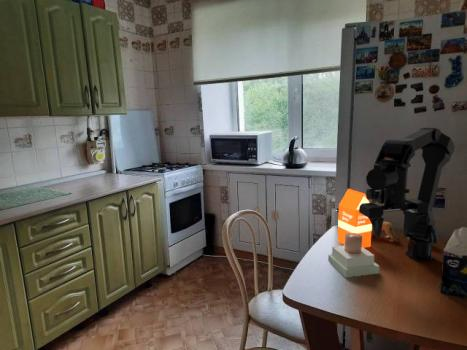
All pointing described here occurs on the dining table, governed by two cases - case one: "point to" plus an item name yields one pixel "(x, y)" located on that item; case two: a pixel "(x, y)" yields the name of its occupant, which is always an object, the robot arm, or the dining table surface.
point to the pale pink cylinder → (353, 243)
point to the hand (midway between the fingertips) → (391, 236)
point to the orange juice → (353, 218)
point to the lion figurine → (387, 230)
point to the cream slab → (352, 257)
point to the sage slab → (353, 268)
